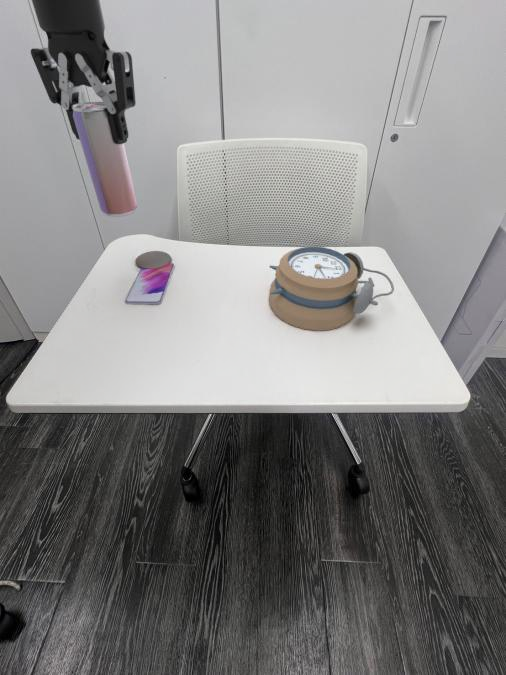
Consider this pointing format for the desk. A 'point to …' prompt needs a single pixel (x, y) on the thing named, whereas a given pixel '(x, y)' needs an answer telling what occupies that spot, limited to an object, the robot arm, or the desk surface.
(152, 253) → the coaster
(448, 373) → the desk surface
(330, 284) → the alarm clock
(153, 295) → the smartphone
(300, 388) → the desk surface
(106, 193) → the beverage can
